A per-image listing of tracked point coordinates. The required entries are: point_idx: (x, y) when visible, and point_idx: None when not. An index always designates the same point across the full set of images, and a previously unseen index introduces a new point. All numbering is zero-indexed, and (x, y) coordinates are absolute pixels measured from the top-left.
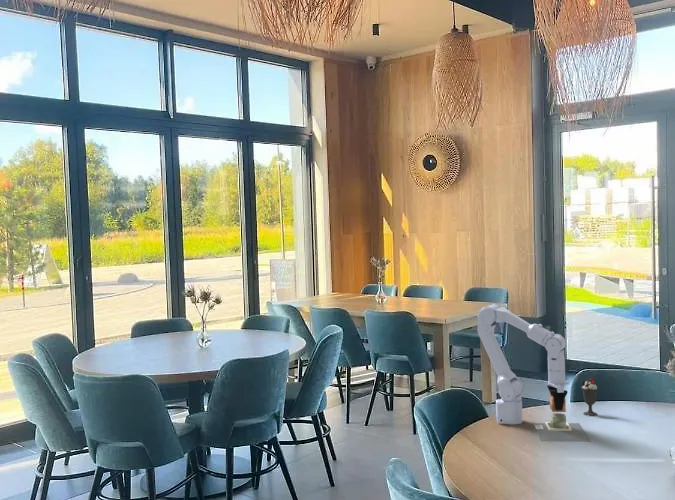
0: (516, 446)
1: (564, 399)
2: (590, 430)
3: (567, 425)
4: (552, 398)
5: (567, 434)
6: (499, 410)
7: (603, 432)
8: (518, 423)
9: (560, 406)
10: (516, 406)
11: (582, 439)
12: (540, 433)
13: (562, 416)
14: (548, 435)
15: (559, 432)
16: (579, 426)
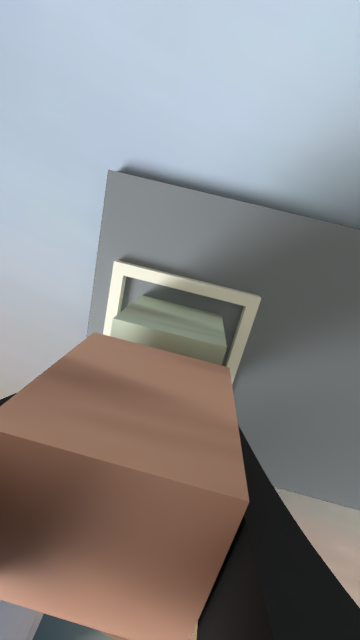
0: (353, 588)
1: (243, 508)
2: (236, 139)
3: (173, 287)
4: (144, 635)
5: (319, 352)
6: (32, 635)
7: (311, 49)
8: None
9: None
10: (24, 615)
11: None
12: None
13: None
14: (298, 450)
15: (268, 378)
16: (184, 202)
